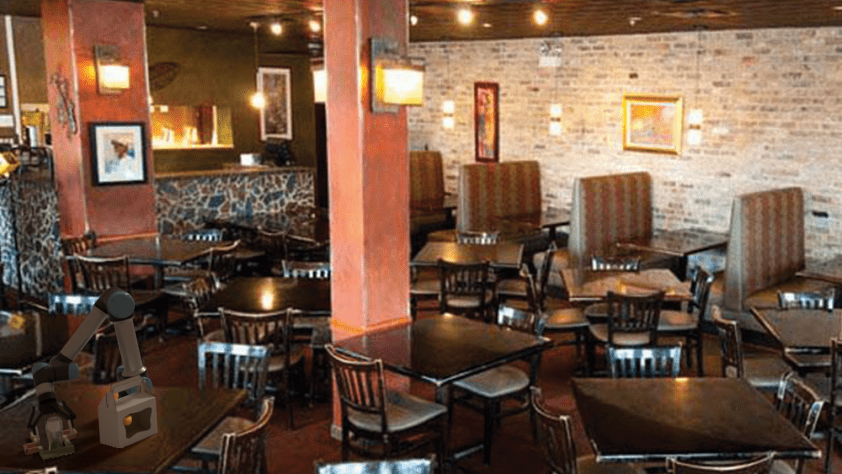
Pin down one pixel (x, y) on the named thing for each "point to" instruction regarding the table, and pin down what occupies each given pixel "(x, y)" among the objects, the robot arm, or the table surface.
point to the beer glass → (54, 432)
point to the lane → (54, 452)
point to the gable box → (134, 404)
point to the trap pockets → (32, 448)
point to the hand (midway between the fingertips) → (55, 437)
